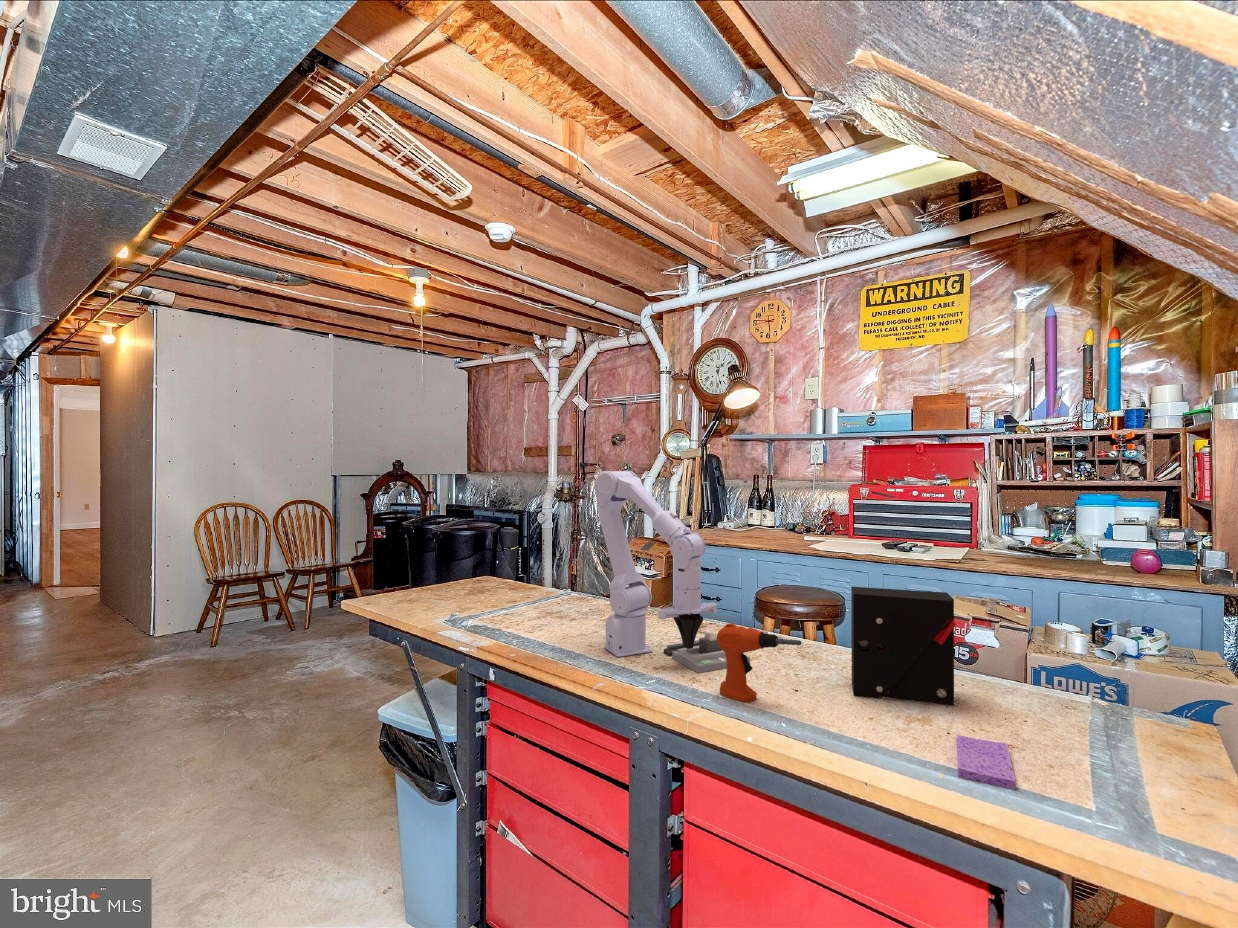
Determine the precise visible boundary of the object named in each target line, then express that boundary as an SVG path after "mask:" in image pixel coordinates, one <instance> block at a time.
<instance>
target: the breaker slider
mask: <svg viewBox="0 0 1238 928" xmlns="http://www.w3.org/2000/svg"><path fill="white" fill-rule="evenodd" d="M698 640H699V653H700V654H704V653H710V652H716V651H722V649H721V648H720V647H719V645H718V643H717V633H716V632H715V631H714V632H713V631H712V630H708V631H707V630H706V631H704V636H703V637H699V639H698Z"/></svg>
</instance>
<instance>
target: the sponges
mask: <svg viewBox="0 0 1238 928" xmlns="http://www.w3.org/2000/svg"><path fill="white" fill-rule="evenodd" d="M956 750H957V751H956V752H957V755H956V756H957V777H958V778H961V779H966V780H969V781H974V782H981V783H983V784H988V785H993V786H998V787H1003V788H1006V789H1011V790H1016V778H1015V774H1014V769H1013V763H1012V759H1011V755H1010V750H1009V746H1008V743H1006V742H999V741H994V740H987V739H986V740H984V739H980V738H974V737H973V738H972V737H969V736H965V735H960V734H956Z"/></svg>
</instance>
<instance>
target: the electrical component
mask: <svg viewBox="0 0 1238 928" xmlns="http://www.w3.org/2000/svg"><path fill="white" fill-rule="evenodd" d="M850 589H851V595H850V597H851V598H850V599H851V602H850V603H851V609H850V610H851V614H850V615H851V616H850V617H851V623H850V624H851V626H850V627H851V633H850V634H851V636H850V637H851V640H850V641H851V687H852V688H851V689H852V694H853V695H852V696H853V697H859V698H867V699H868V698H870V699H879V700H880V699H883V698H886V699H893V700H895V699H896V700H902V701H910V702H917V703H918V702H919V703H925V704H926V703H927V704H933V705H935V704H936V705H943V706H951V707H952V706H954V707H955V626H956V625H957V624H956V622H955V612H954V611H955V599H954V598H953V596H951V595H950V594H949V593H948V592H944V591H943V592H942V591H941V592H940V591H929V590H928V591H927V590H911V589H899V588H898V589H896V588H880V587H864V586H851V587H850Z"/></svg>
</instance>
